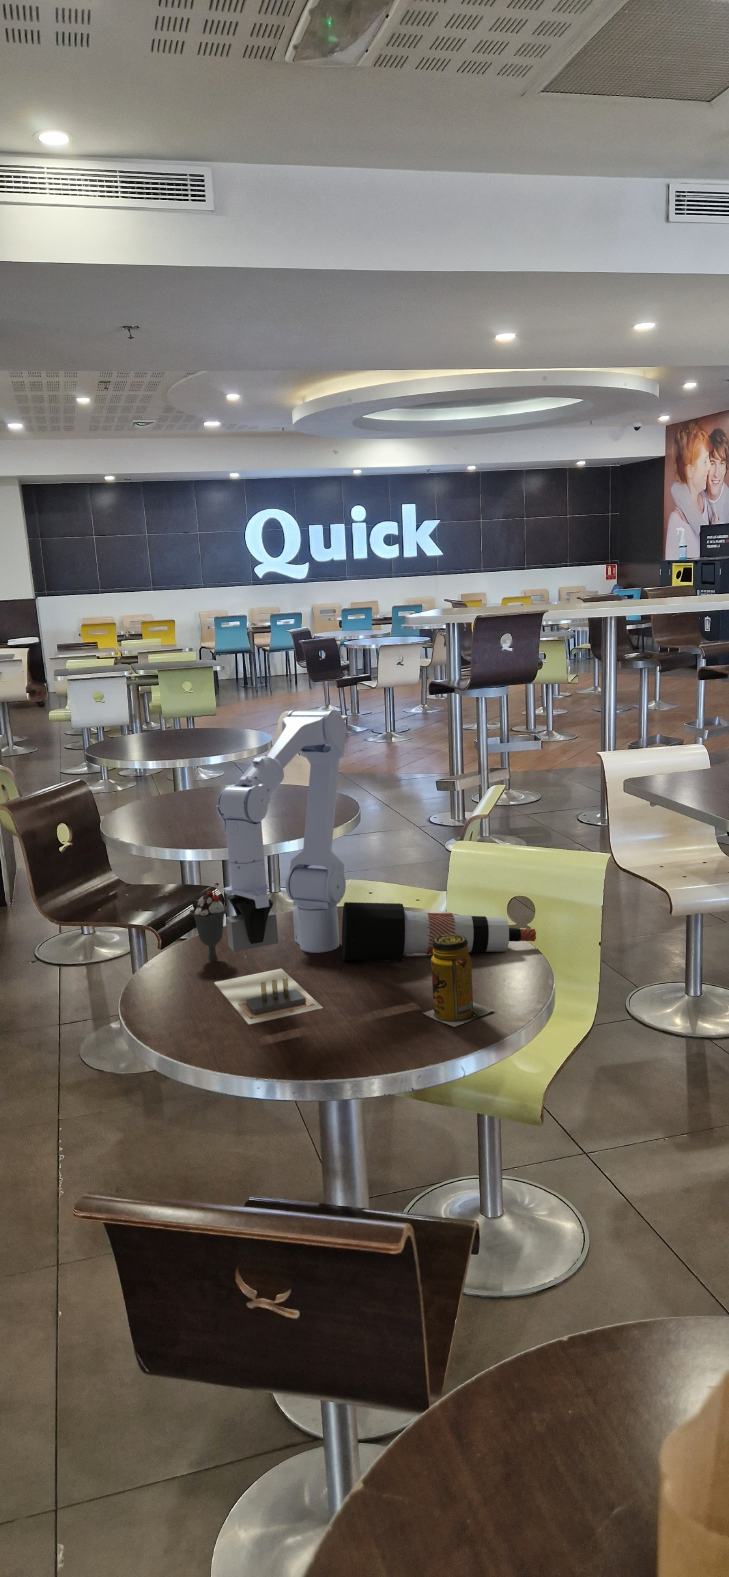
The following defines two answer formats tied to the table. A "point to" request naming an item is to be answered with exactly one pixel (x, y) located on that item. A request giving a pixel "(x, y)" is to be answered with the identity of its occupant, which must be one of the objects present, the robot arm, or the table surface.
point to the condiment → (453, 982)
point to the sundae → (209, 920)
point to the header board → (267, 996)
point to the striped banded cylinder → (417, 931)
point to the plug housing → (240, 938)
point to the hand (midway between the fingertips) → (253, 939)
